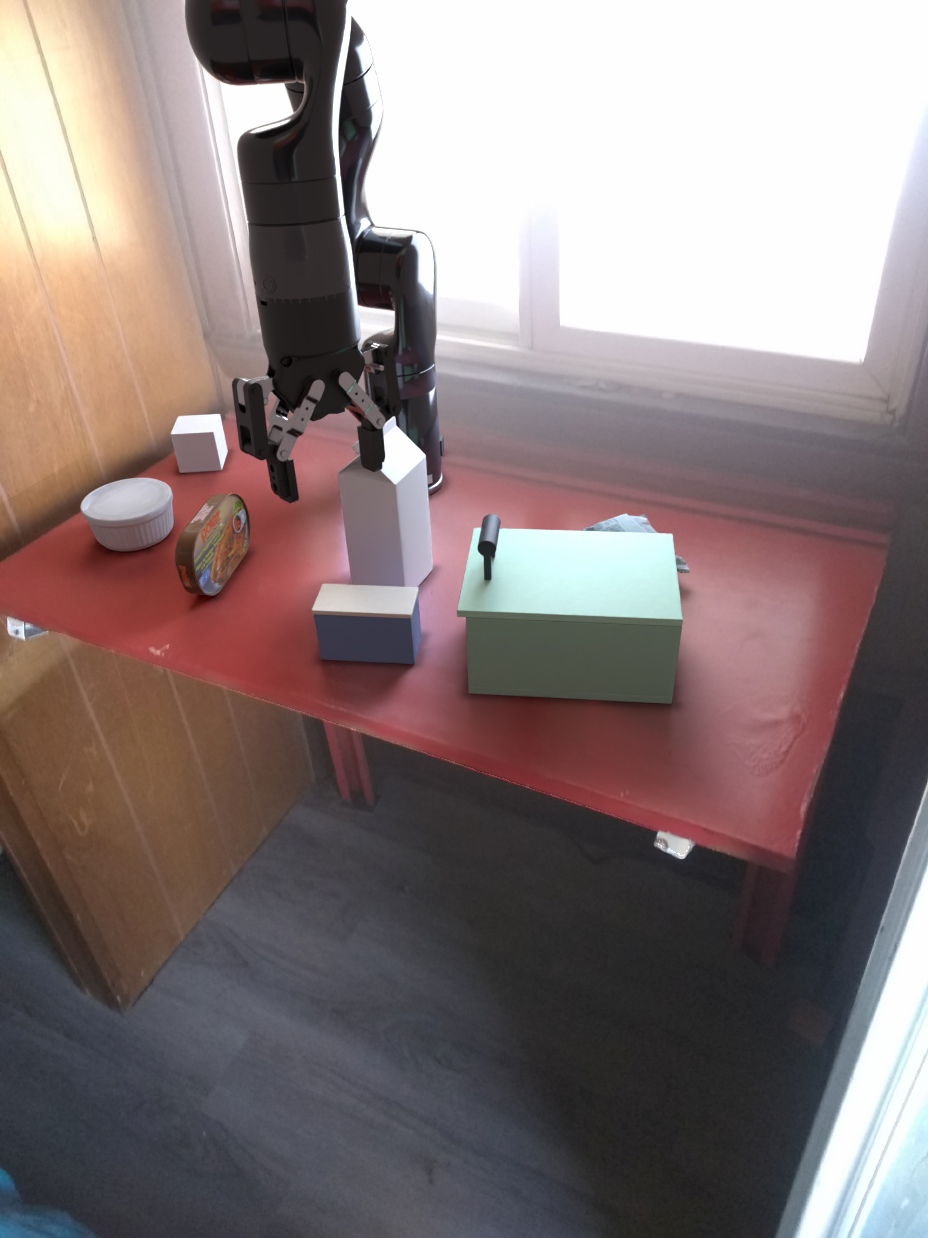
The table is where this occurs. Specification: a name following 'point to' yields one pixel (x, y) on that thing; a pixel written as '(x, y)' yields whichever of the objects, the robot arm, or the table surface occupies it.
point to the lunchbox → (572, 659)
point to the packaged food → (636, 526)
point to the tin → (213, 544)
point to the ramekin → (129, 513)
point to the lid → (570, 576)
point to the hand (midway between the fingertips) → (331, 484)
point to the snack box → (367, 623)
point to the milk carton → (388, 515)
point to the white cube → (199, 443)
